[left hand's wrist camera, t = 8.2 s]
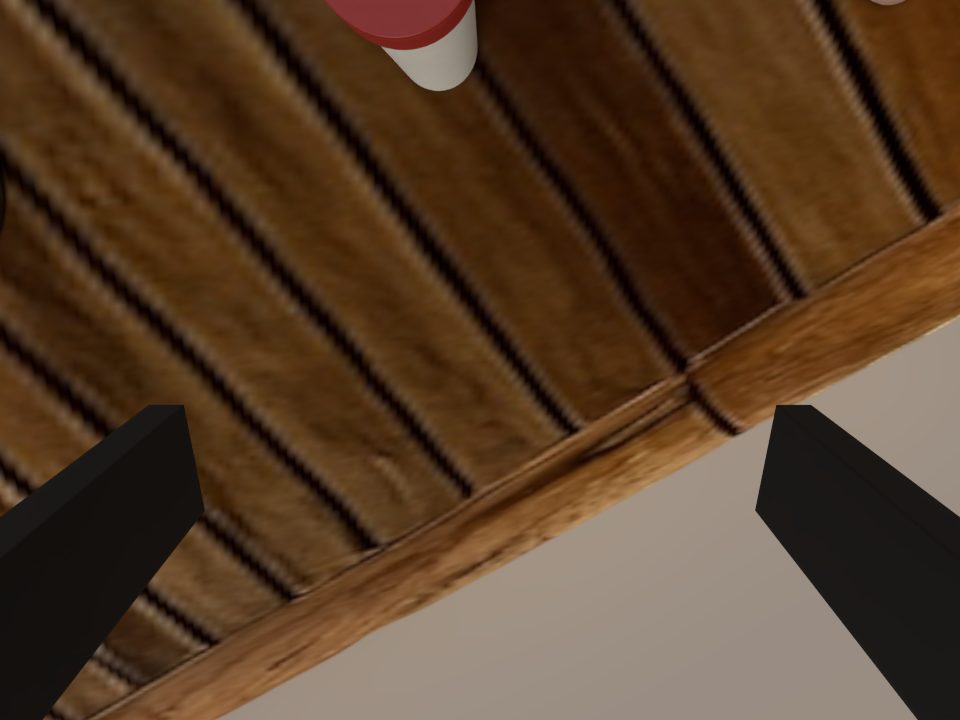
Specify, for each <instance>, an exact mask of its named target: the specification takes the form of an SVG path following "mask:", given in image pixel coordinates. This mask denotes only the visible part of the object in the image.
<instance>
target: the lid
mask: <svg viewBox="0 0 960 720" xmlns="http://www.w3.org/2000/svg"><path fill="white" fill-rule="evenodd" d="M472 1H473V0H325V2H326V3H327V4H328V5H329V6H330V7H331V9H332V10H333V11H334V12H335V13H336V14H337V15H338V16H339V17H340V18H341V19H342V20H343V21H344V22H345V23H346V24H347V25H348V26H350V27H351V28H352V29H353V30H354V31H355V32H356V33H357V34H359V35H360V36H362V37H363V38H365V39H366V40H368V41H370V42H372V43H374V44H376V45H379V46H382V47H385V48H389V49H394V50H412V49H418V48H422V47H426V46H428V45H431V44H433V43H435V42H437V41H439V40H440V39H442V38H443V37H445V36H446V35H447V34H448V33H450V32H451V31H452V30H453V29H454V28H455V27H456V26H457V25H458V24H459V23H460V21H461V20H462V18H463V17H464V16H465V14H466V13H467V11H468V9H469V7H470V5H471V3H472Z"/></svg>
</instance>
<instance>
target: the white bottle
mask: <svg viewBox="0 0 960 720" xmlns="http://www.w3.org/2000/svg"><path fill="white" fill-rule="evenodd" d="M381 47H382V46H381ZM382 48H383V49H384V50H385V51H386V52H387V53H388V54H389V55H390V57H391V58H392V59H393V60H394V61H395V62H396V63H397V64H398V65H399V66H400V67H401V68H402V69H403V71H404V72H405V73H406V74H407V75H408V76H409V77H410V78H411V79H412V80H413V81H414V82H415V83H417V84H418V85H420V86H421V87H423V88H426V89H429V90H434V91H443V90H448V89H451V88H453V87H455V86H457V85H459V84H460V83H461V82H463V81H464V80H465V79H466V78H467V76H468V75H469V74H470V72H471V70H472V68H473V66H474V64H475V61H476V57H477V31H476V16H475V2H474V0H473V1H472V3H471V5H470V7H469V9H468V11H467V13H466V14H465V16H464V17H463V18H462V20H461V21H460V23H459V24H458V25H457V26H456V27H455V28H454V29H453V30H452V31H451V32H450V33H448V34H447V35H446V36H445V37H443V38H442V39H440V40H439V41H437V42H435V43H433V44H431V45H428V46H426V47H422V48H418V49H412V50H394V49H389V48H385V47H382Z"/></svg>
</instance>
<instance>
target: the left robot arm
mask: <svg viewBox="0 0 960 720" xmlns="http://www.w3.org/2000/svg"><path fill="white" fill-rule="evenodd" d="M2 217H3V189H2V182H1V176H0V229H1V223H2ZM204 511H205V509H204V504H203V499H202V494H201V489H200V484H199V479H198V474H197V469H196V464H195V459H194V454H193V449H192V444H191V439H190V434H189V429H188V424H187V419H186V414H185V409H184V405H148V406H147V407H146V408H144V409H143V410H142V411H140V412H139V413H138V414H136V415H135V416H134V417H132V418H131V419H130V420H128V421H127V422H126V423H124V424H123V425H122V426H121V427H119V428H118V429H117V430H115V431H114V432H113V433H111V434H110V435H109V436H107V437H106V438H105V439H103V440H102V441H101V442H99V443H98V444H97V445H95V446H94V447H93V448H91V449H90V450H89V451H87V452H86V453H85V454H83V455H82V456H81V457H79V458H78V459H77V460H75V461H74V462H73V463H71V464H70V465H69V466H67V467H66V468H65V469H63V470H62V471H61V472H59V473H58V474H57V475H56V476H54V477H53V478H52V479H50V480H49V481H48V482H46V483H45V484H44V485H42V486H41V487H40V488H38V489H37V490H36V491H34V492H33V493H32V494H30V495H29V496H28V497H26V498H25V499H24V500H22V501H21V502H20V503H18V504H17V505H16V506H14V507H13V508H12V509H10V510H9V511H8V512H6V513H5V514H4V515H2V516H1V517H0V720H43V718H44V717H45V716H46V714H47V713H48V712H49V711H50V709H51V708H52V707H53V705H54V704H55V703H56V701H57V700H58V699H59V698H60V696H61V695H62V694H63V692H64V691H65V690H66V689H67V687H68V686H69V685H70V683H71V682H72V681H73V680H74V678H75V677H76V676H77V674H78V673H79V672H80V671H81V669H82V668H83V667H84V665H85V664H86V663H87V662H88V660H89V659H90V658H91V656H92V655H93V654H94V652H95V651H96V650H97V649H98V647H99V646H100V645H101V643H102V642H103V641H104V640H105V638H106V637H107V636H108V634H109V633H110V632H111V631H112V629H113V628H114V627H115V625H116V624H117V623H118V622H119V620H120V619H121V618H122V616H123V615H124V614H125V613H126V611H127V610H128V609H129V607H130V606H131V605H132V604H133V602H134V601H135V600H136V598H137V597H138V596H139V594H140V593H141V592H142V591H143V589H144V588H145V587H146V585H147V584H148V583H149V582H150V580H151V579H152V578H153V576H154V575H155V574H156V573H157V571H158V570H159V569H160V567H161V566H162V565H163V564H164V562H165V561H166V560H167V558H168V557H169V556H170V555H171V553H172V552H173V551H174V549H175V548H176V547H177V545H178V544H179V543H180V542H181V540H182V539H183V538H184V536H185V535H186V534H187V533H188V531H189V530H190V529H191V527H192V526H193V525H194V524H195V522H196V521H197V520H198V518H199V517H200V516H201V515H202V513H203V512H204ZM755 511H756V512H757V513H758V515H759V516H760V517H761V518H762V520H763V521H764V522H765V524H766V525H767V526H768V527H769V529H770V530H771V531H772V533H773V534H774V535H775V536H776V538H777V539H778V540H779V542H780V543H781V544H782V545H783V547H784V548H785V549H786V551H787V552H788V553H789V555H790V556H791V557H792V558H793V560H794V561H795V562H796V564H797V565H798V566H799V567H800V569H801V570H802V571H803V573H804V574H805V575H806V576H807V578H808V579H809V580H810V582H811V583H812V584H813V585H814V587H815V588H816V589H817V591H818V592H819V593H820V594H821V596H822V597H823V598H824V600H825V601H826V602H827V603H828V605H829V606H830V607H831V609H832V610H833V611H834V612H835V614H836V615H837V616H838V618H839V619H840V620H841V622H842V623H843V624H844V625H845V627H846V628H847V629H848V630H849V632H850V633H851V634H852V636H853V637H854V638H855V640H856V641H857V642H858V643H859V645H860V646H861V647H862V649H863V650H864V651H865V652H866V654H867V655H868V656H869V658H870V659H871V660H872V662H873V663H874V664H875V665H876V667H877V668H878V669H879V671H880V672H881V673H882V674H883V676H884V677H885V678H886V680H887V681H888V682H889V683H890V685H891V686H892V687H893V689H894V690H895V691H896V692H897V694H898V695H899V696H900V698H901V699H902V700H903V701H904V703H905V704H906V705H907V707H908V708H909V709H910V711H911V712H912V713H913V714H914V716H915V717H916V718H917V720H960V517H959V516H958V515H956V514H955V513H953V512H952V511H951V510H950V509H948V508H947V507H946V506H944V505H943V504H942V503H940V502H939V501H938V500H936V499H935V498H934V497H932V496H931V495H930V494H928V493H927V492H926V491H924V490H923V489H922V488H920V487H919V486H918V485H916V484H915V483H914V482H912V481H911V480H910V479H908V478H907V477H906V476H904V475H903V474H902V473H901V472H899V471H898V470H896V469H895V468H894V467H893V466H891V465H890V464H889V463H887V462H886V461H885V460H883V459H882V458H881V457H879V456H878V455H877V454H875V453H874V452H873V451H871V450H870V449H869V448H867V447H866V446H865V445H863V444H862V443H861V442H859V441H858V440H857V439H855V438H854V437H853V436H851V435H850V434H849V433H847V432H846V431H845V430H843V429H842V428H841V427H839V426H838V425H837V424H835V423H834V422H833V421H831V420H830V419H829V418H827V417H826V416H825V415H824V414H822V413H821V412H820V411H818V410H817V409H816V408H814V407H813V406H812V405H776V409H775V414H774V419H773V424H772V429H771V434H770V439H769V444H768V449H767V454H766V459H765V464H764V469H763V474H762V479H761V484H760V489H759V494H758V499H757V504H756V509H755Z"/></svg>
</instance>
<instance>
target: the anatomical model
mask: <svg viewBox="0 0 960 720" xmlns="http://www.w3.org/2000/svg"><path fill="white" fill-rule="evenodd" d="M871 1H873V2H875V3H878V4H882V5H894V4H898V3H900V2H903V1H905V0H871Z"/></svg>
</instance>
